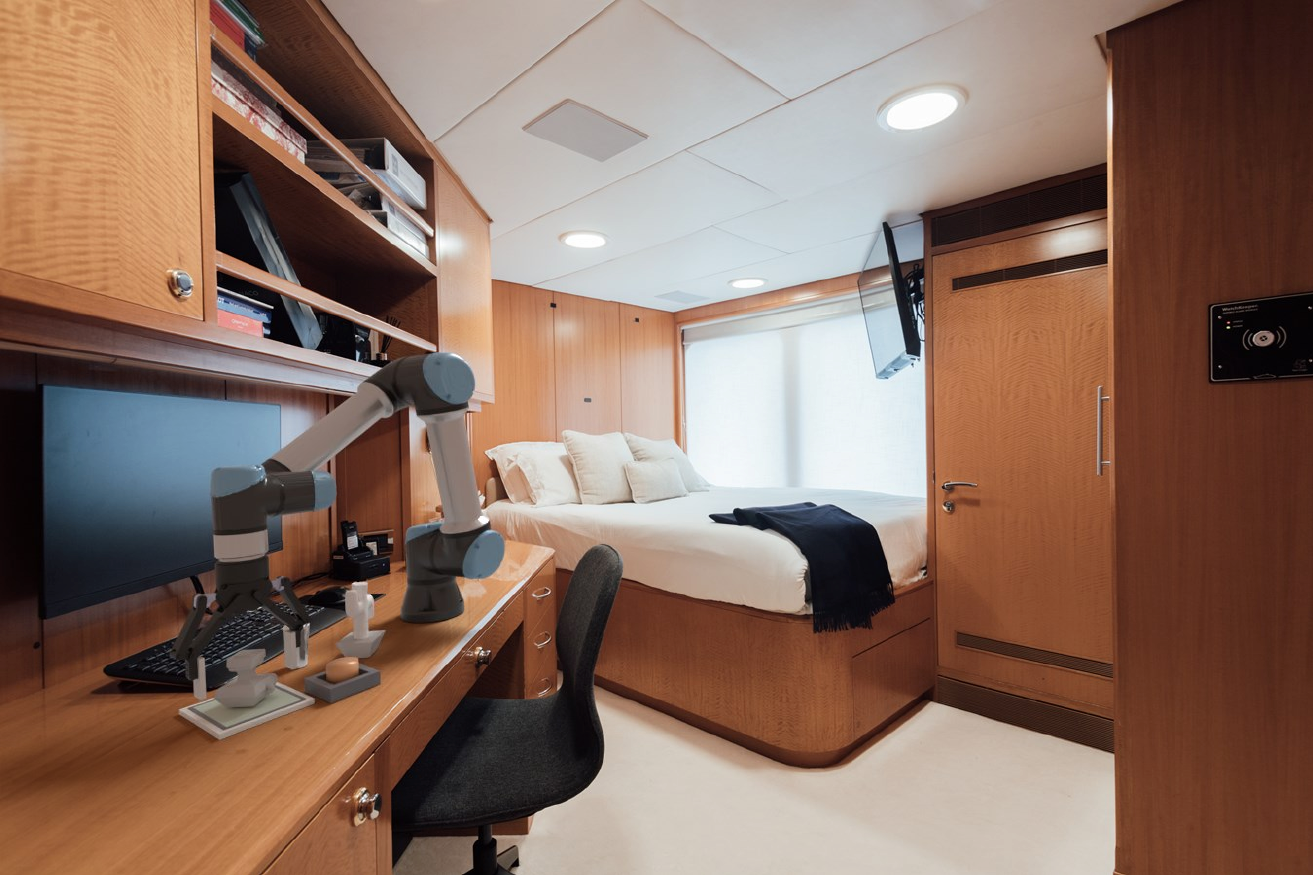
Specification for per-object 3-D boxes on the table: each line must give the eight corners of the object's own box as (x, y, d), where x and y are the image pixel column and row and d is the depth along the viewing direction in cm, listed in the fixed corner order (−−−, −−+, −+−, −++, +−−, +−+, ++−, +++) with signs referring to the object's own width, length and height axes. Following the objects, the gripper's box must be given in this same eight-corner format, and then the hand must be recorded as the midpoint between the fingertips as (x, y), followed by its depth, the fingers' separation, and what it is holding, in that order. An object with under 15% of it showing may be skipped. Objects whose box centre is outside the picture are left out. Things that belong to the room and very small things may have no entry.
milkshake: (302, 671, 117) (300, 620, 117) (278, 669, 118) (276, 619, 118) (319, 662, 121) (318, 613, 121) (297, 660, 122) (295, 612, 122)
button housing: (353, 673, 115) (353, 661, 115) (380, 683, 110) (380, 670, 110) (304, 691, 107) (304, 678, 107) (331, 703, 102) (330, 689, 102)
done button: (349, 670, 112) (348, 654, 112) (364, 676, 109) (364, 660, 109) (320, 680, 108) (320, 664, 108) (336, 687, 105) (335, 670, 105)
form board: (270, 683, 111) (270, 678, 111) (314, 703, 103) (314, 698, 103) (179, 714, 100) (178, 708, 100) (219, 739, 91) (219, 733, 91)
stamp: (206, 713, 98) (204, 662, 98) (232, 695, 104) (231, 647, 104) (263, 710, 98) (261, 659, 98) (286, 692, 105) (284, 645, 105)
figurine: (388, 645, 130) (385, 576, 130) (370, 662, 121) (367, 587, 120) (353, 646, 129) (351, 577, 129) (333, 664, 120) (330, 589, 120)
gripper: (307, 541, 113) (313, 652, 114) (139, 570, 93) (147, 706, 93) (328, 544, 109) (333, 660, 110) (157, 576, 88) (165, 718, 89)
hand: (248, 681), depth 101 cm, fingers open, 13 cm apart
